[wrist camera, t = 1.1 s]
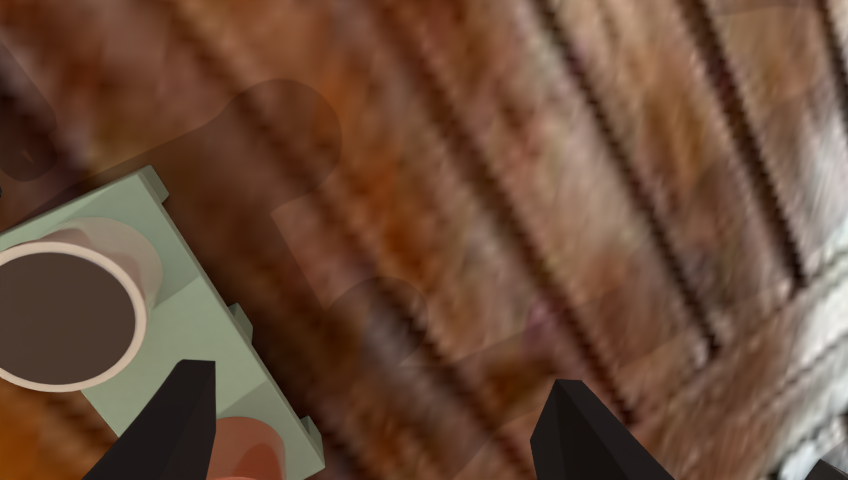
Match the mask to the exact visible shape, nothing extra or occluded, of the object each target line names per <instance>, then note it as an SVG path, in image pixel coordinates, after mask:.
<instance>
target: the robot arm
mask: <svg viewBox="0 0 848 480" xmlns="http://www.w3.org/2000/svg"><path fill="white" fill-rule="evenodd" d="M215 435H216V361H210V360H191V359H182V360H181V361H179V362H178V363H177V364H176V365H175V367H174V368H173V369H172V371H171V372H170V374H169V375H168V377H167V378H166V379H165V381H164V382H163V384H162V385H161V386H160V388H159V389H158V390H157V392H156V393H155V394H154V396H153V397H152V398H151V399H150V401H149V402H148V403H147V404H146V406H145V407H144V408H143V410H142V411H141V412H140V413H139V415H138V416H137V417H136V418H135V419H134V421H133V422H132V423H131V424H130V425H129V427H128V428H127V429H126V430H125V431H124V432H123V434H122V435H121V436H120V437H119V438H118V440H117V441H116V442H115V443H114V444H113V445H112V447H111V448H110V449H109V450H108V451H107V452H106V453H105V455H104V456H103V457H102V458H101V459H100V460H99V461H98V462H97V463H96V464H95V466H94V467H93V468H92V469H91V470H90V471H89V472H88V473H87V474H86V475H85V476H84V477H83V478H82V479H81V480H206V478H207V473H208V469H209V464H210V459H211V454H212V449H213V444H214V440H215ZM530 444H531V450H532V455H533V460H534V466H535V470H536V475H537V480H675V479H674V478H673V477H672V476H671V475H670V474H669V473H668V472H667V471H666V470H665V469H664V468H663V467H662V466H661V465H660V464H659V463H658V462H657V461H656V460H655V459H654V458H653V457H652V456H651V455H650V454H649V453H648V451H647V450H646V449H645V448H644V447H643V446H642V445H641V444H640V443H639V442H638V441H637V440H636V439H635V438H634V437H633V436H632V434H631V433H630V432H629V431H628V430H627V429H626V428H625V427H624V426H623V425H622V424H621V422H620V421H619V420H618V419H617V418H616V417H615V416H614V415H613V414H612V413H611V412H610V410H609V409H608V408H607V407H606V406H605V405H604V404H603V403H602V402H601V401H600V400H599V398H598V397H597V396H596V395H595V394H594V393H593V392H592V391H591V390H590V389H589V388H588V387H587V386H586V385H585V384H584V383H583V382H582V381H581V380H564V379H556V380H555V383H554V385H553V387H552V390H551V392H550V394H549V397H548V399H547V401H546V404H545V406H544V408H543V411H542V413H541V415H540V418H539V420H538V422H537V425H536V427H535V429H534V432H533V434H532V436H531V439H530Z"/></svg>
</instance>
